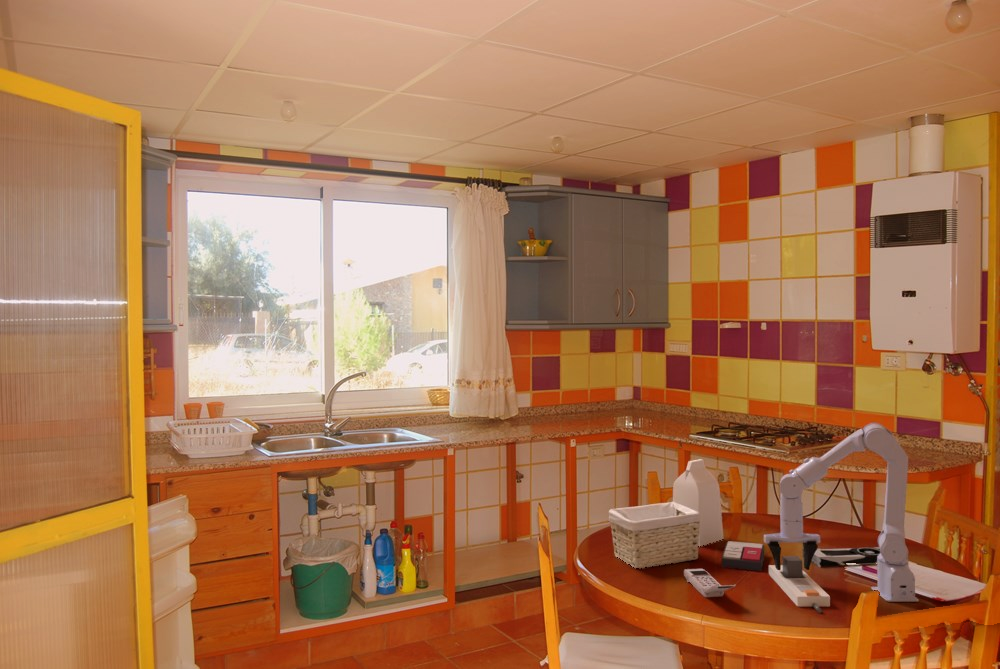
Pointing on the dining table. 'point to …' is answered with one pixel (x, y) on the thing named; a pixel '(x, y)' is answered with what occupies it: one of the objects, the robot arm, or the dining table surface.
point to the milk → (701, 499)
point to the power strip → (801, 589)
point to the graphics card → (845, 556)
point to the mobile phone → (705, 583)
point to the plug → (792, 567)
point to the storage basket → (655, 534)
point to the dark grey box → (743, 555)
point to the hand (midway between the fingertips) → (792, 568)
